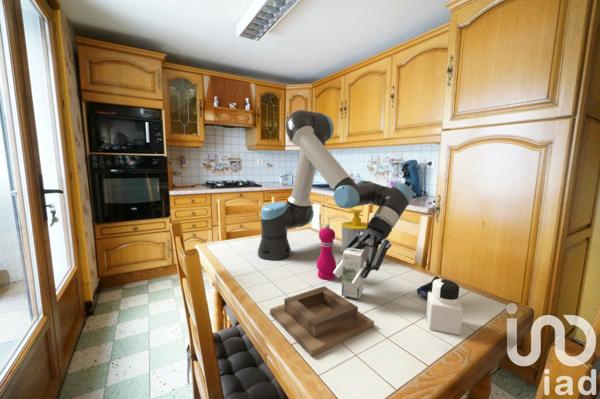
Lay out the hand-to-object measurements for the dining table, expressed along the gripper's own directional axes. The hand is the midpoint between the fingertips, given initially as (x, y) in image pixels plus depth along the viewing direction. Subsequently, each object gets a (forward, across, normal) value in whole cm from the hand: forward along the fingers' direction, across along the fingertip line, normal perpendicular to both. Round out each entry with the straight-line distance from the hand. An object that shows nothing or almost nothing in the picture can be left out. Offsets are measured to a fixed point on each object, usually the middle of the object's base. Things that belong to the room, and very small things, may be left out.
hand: (344, 280), depth 83 cm
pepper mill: (+1, +16, -9) cm, 18 cm away
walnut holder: (+14, -5, +5) cm, 16 cm away
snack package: (-14, -15, -23) cm, 31 cm away
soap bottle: (-16, +25, -26) cm, 39 cm away
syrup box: (+2, 0, -6) cm, 7 cm away
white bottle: (-4, -24, -13) cm, 28 cm away
